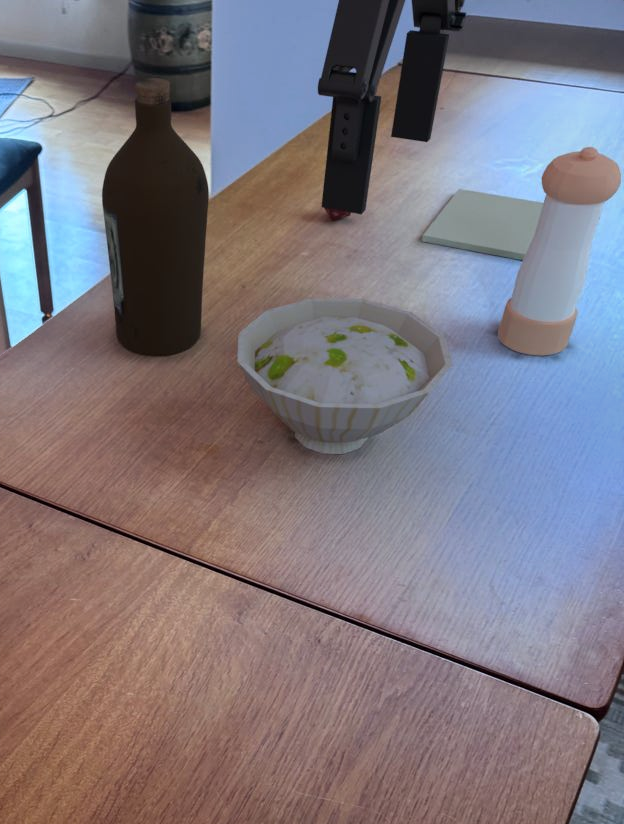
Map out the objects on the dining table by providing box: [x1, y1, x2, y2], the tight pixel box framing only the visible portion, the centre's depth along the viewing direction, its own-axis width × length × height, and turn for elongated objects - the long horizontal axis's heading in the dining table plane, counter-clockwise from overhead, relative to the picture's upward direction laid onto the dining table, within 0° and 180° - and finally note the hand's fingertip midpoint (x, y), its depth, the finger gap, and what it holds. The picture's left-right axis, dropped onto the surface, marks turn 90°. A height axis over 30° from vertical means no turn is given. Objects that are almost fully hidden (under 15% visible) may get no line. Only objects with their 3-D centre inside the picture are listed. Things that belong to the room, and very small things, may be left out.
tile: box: [421, 188, 544, 261], centre depth 116 cm, size 16×16×1 cm
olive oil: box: [101, 77, 210, 357], centre depth 92 cm, size 11×11×25 cm
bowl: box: [237, 297, 454, 455], centre depth 84 cm, size 19×19×10 cm
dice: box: [323, 208, 352, 222], centre depth 119 cm, size 4×4×4 cm
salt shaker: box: [497, 146, 622, 356], centre depth 91 cm, size 7×7×19 cm
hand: (378, 171), depth 62 cm, fingers open, 13 cm apart
